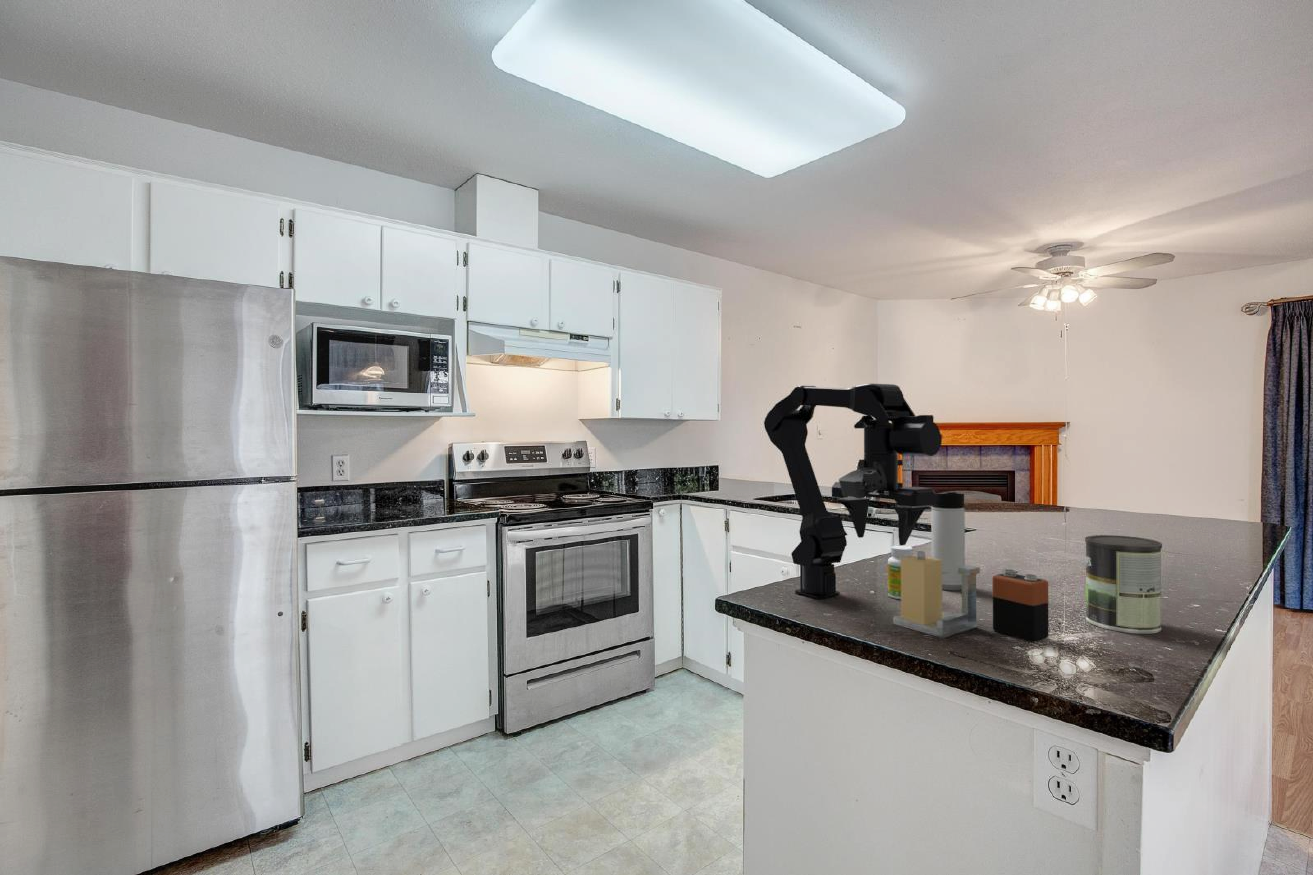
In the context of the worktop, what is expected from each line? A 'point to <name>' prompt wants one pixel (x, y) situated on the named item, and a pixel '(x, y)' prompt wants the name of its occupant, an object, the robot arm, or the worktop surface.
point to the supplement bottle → (896, 569)
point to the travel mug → (949, 537)
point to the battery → (1020, 605)
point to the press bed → (949, 622)
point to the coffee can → (1123, 583)
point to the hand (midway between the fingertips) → (880, 541)
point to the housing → (921, 588)
